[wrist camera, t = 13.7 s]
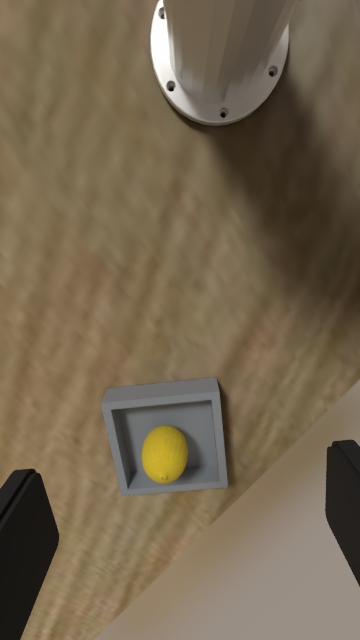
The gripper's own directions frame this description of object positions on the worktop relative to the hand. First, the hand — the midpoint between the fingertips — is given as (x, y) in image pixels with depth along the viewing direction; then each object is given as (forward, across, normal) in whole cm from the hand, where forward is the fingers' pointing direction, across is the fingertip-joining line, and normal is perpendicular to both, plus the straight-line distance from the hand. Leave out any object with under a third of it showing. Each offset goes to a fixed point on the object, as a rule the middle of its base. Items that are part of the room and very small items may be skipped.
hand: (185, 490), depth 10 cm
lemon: (+26, +4, +17) cm, 31 cm away
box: (+26, +4, +17) cm, 32 cm away
